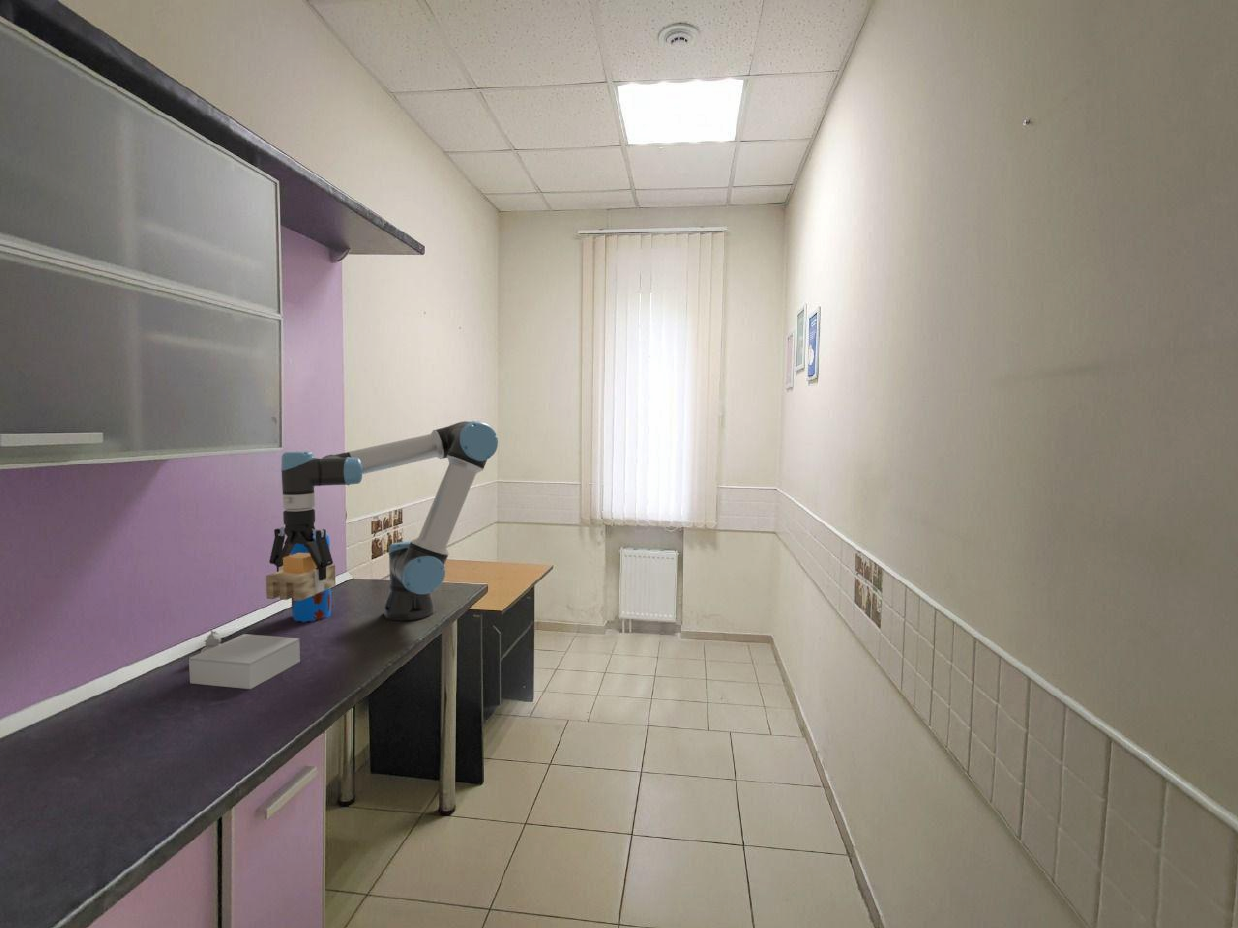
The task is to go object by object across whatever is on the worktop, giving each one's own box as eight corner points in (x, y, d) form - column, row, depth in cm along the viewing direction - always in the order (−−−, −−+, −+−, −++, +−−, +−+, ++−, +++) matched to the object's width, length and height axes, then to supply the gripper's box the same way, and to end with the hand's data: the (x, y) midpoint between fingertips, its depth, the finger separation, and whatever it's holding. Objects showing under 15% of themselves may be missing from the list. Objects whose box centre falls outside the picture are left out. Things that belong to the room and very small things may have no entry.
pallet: (303, 583, 169) (303, 563, 168) (335, 585, 167) (334, 564, 167) (266, 598, 155) (265, 575, 155) (300, 600, 153) (299, 577, 153)
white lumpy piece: (207, 656, 154) (206, 625, 154) (235, 654, 155) (234, 624, 154) (196, 664, 149) (194, 633, 148) (224, 663, 150) (223, 632, 149)
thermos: (288, 615, 187) (286, 536, 185) (325, 608, 194) (323, 532, 192) (297, 624, 178) (294, 542, 177) (335, 617, 185) (333, 537, 184)
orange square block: (299, 566, 164) (298, 552, 164) (318, 568, 163) (318, 553, 163) (283, 572, 158) (282, 557, 158) (303, 573, 157) (302, 558, 157)
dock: (244, 656, 154) (244, 634, 153) (299, 661, 151) (299, 638, 150) (190, 683, 138) (188, 657, 138) (250, 689, 135) (249, 663, 135)
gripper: (251, 509, 158) (254, 592, 159) (327, 512, 154) (330, 596, 155) (272, 506, 165) (275, 584, 167) (346, 508, 161) (348, 588, 163)
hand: (302, 590), depth 161 cm, fingers closed on pallet, 10 cm apart
